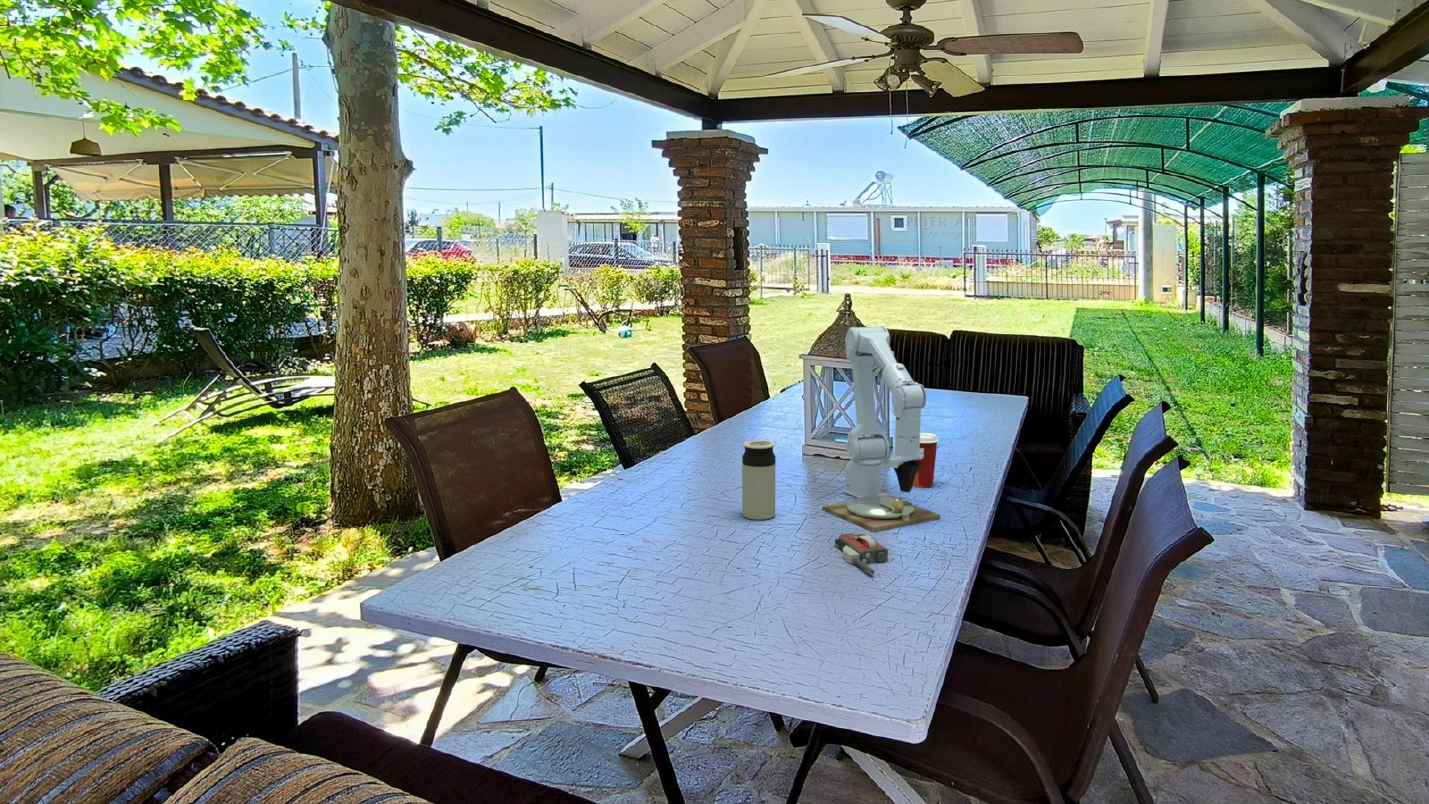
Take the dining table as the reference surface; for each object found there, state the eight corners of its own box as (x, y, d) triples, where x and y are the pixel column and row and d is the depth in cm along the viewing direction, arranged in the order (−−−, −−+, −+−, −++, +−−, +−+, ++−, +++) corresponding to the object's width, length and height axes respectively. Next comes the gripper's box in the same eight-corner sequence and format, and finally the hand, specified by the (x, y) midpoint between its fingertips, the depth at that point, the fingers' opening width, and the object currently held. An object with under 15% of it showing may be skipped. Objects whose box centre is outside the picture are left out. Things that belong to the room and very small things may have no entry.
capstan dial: (833, 505, 215) (834, 489, 214) (885, 496, 222) (885, 480, 221) (874, 522, 201) (874, 505, 200) (928, 512, 208) (928, 495, 207)
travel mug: (781, 515, 212) (782, 443, 208) (760, 522, 206) (760, 448, 203) (756, 509, 217) (756, 438, 214) (735, 516, 211) (735, 443, 208)
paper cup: (940, 484, 239) (942, 434, 236) (931, 490, 232) (933, 439, 230) (912, 480, 243) (914, 431, 240) (903, 486, 236) (904, 436, 234)
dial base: (822, 510, 216) (822, 500, 215) (885, 498, 225) (885, 489, 225) (874, 532, 198) (874, 522, 198) (940, 518, 208) (940, 509, 207)
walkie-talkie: (825, 547, 190) (867, 579, 171) (826, 528, 189) (868, 558, 170) (862, 543, 192) (907, 574, 173) (862, 524, 191) (908, 553, 172)
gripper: (909, 443, 197) (907, 501, 200) (936, 432, 209) (934, 487, 211) (881, 439, 202) (879, 495, 204) (909, 428, 213) (907, 482, 215)
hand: (905, 491), depth 208 cm, fingers closed
